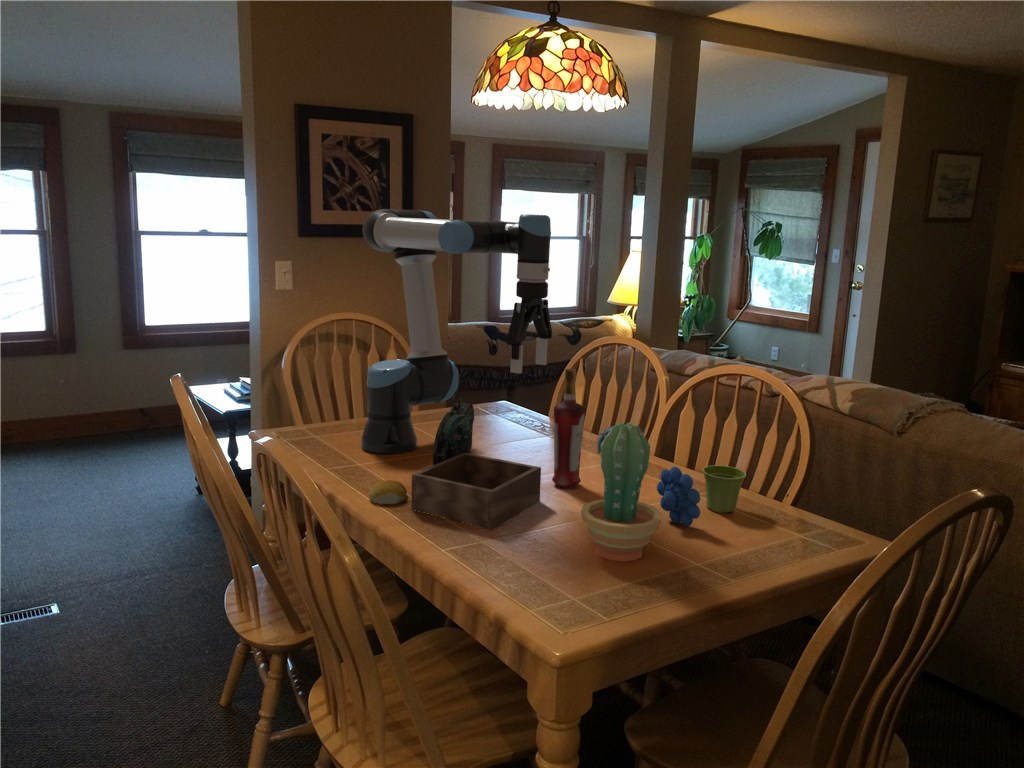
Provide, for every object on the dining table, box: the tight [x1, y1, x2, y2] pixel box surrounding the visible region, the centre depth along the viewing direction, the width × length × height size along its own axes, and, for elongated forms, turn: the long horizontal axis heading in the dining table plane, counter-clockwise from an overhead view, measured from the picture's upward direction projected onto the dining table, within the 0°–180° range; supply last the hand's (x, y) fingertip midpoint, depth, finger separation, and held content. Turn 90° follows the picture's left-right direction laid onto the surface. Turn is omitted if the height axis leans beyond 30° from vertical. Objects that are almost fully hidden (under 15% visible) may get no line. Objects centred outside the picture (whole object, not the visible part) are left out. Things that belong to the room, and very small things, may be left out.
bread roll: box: [368, 479, 408, 505], centre depth 179 cm, size 8×9×4 cm
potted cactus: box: [580, 422, 663, 562], centre depth 151 cm, size 15×15×25 cm
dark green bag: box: [432, 393, 475, 466], centre depth 195 cm, size 20×6×20 cm, turn 164°
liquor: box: [551, 368, 586, 489], centre depth 189 cm, size 7×7×28 cm
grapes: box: [656, 466, 701, 527], centre depth 167 cm, size 12×7×12 cm, turn 37°
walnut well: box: [411, 452, 542, 531], centre depth 175 cm, size 20×20×8 cm
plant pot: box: [702, 464, 747, 514], centre depth 178 cm, size 9×9×9 cm
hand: (528, 368), depth 195 cm, fingers open, 13 cm apart
